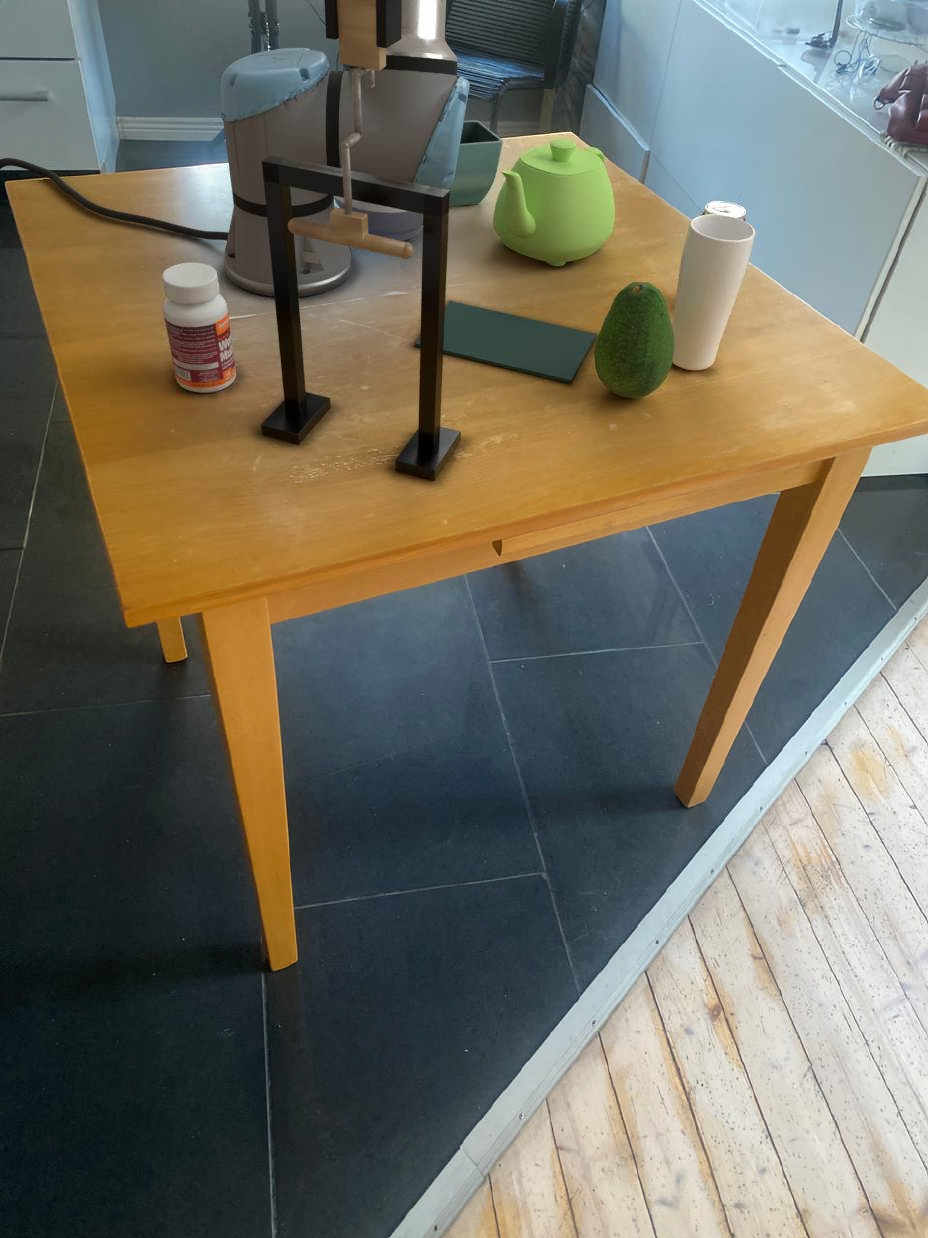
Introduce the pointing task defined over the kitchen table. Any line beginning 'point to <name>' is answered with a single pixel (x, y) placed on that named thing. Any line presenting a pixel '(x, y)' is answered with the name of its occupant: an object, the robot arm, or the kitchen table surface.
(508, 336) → the mat
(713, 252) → the drinking glass
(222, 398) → the kitchen table surface
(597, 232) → the teapot
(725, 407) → the kitchen table surface
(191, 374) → the pill bottle
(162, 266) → the kitchen table surface
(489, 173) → the flower pot
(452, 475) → the kitchen table surface
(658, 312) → the fruit
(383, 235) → the bowl
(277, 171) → the rack
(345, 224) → the hanger
